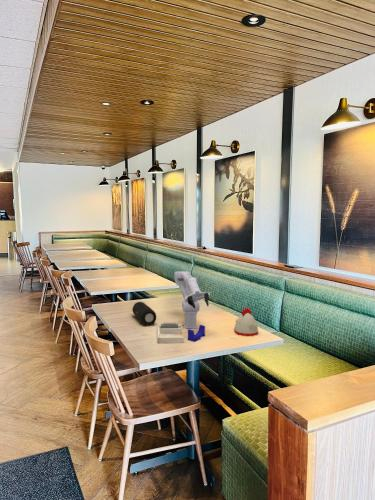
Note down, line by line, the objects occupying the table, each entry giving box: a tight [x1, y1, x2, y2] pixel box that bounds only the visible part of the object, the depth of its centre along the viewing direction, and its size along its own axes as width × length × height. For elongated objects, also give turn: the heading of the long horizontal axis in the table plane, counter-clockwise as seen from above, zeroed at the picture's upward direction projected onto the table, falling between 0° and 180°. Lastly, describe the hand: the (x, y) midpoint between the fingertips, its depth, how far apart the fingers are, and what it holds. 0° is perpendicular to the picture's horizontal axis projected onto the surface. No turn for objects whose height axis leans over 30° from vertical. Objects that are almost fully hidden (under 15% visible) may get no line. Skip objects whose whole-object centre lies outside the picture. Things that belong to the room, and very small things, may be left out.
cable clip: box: [187, 324, 206, 343], centre depth 203 cm, size 12×4×6 cm, turn 141°
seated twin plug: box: [160, 322, 179, 328], centre depth 212 cm, size 4×10×5 cm, turn 96°
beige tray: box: [157, 324, 185, 344], centre depth 205 cm, size 21×14×3 cm, turn 6°
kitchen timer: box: [233, 307, 259, 337], centre depth 214 cm, size 14×14×15 cm
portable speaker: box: [132, 301, 157, 326], centre depth 234 cm, size 26×10×10 cm, turn 24°
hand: (201, 306), depth 201 cm, fingers open, 7 cm apart
